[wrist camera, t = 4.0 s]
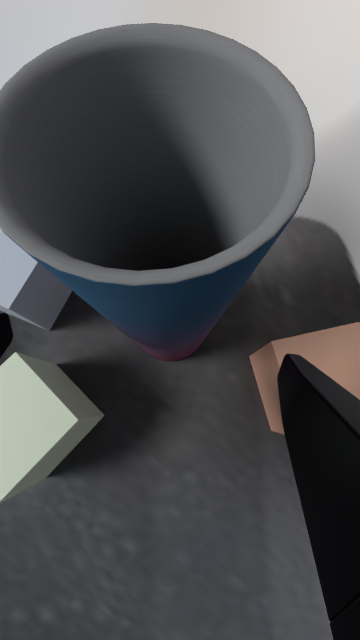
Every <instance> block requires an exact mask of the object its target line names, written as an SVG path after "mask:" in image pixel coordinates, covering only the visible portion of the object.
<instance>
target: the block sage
mask: <svg viewBox="0 0 360 640" xmlns="http://www.w3.org/2000/svg"><path fill="white" fill-rule="evenodd" d="M104 416H105V415H104V414H103V413H102V412H101V411H100V410H99V409H98V408H97V407H96V406H95V405H94V404H93V402H92V401H91V400H90V399H89V398H88V397H87V396H86V395H85V394H84V393H83V392H82V391H81V390H80V389H79V388H78V387H77V386H76V385H75V384H74V383H73V382H72V380H71V379H70V378H69V377H68V376H67V375H66V374H65V373H64V372H63V371H62V370H61V369H60V368H59V367H58V366H57V365H56V364H53V363H50V362H47V361H43V360H40V359H37V358H33V357H30V356H27V355H24V354H20V353H17V352H15V353H14V354H13V355H12V356H11V357H10V358H9V359H7V360H6V361H5V362H4V363H3V364H2V365H1V366H0V503H2V502H4V501H6V500H7V499H9V498H11V497H13V496H14V495H16V494H18V493H20V492H21V491H23V490H25V489H27V488H29V487H30V486H32V485H34V484H36V483H37V482H39V481H41V480H43V479H45V478H46V477H47V476H48V475H49V474H50V473H51V472H52V471H53V470H54V469H55V468H56V467H57V466H58V465H59V463H60V462H61V461H62V460H63V459H64V458H65V457H66V456H67V455H68V454H69V453H70V452H71V451H72V450H73V449H74V448H75V446H76V445H77V444H78V443H79V442H80V441H81V440H82V439H83V438H84V437H85V436H86V435H87V434H88V433H89V432H90V431H91V429H92V428H93V427H94V426H95V425H96V424H97V423H98V422H99V421H100V420H101V419H102V418H103V417H104Z"/></svg>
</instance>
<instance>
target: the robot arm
mask: <svg viewBox="0 0 360 640" xmlns="http://www.w3.org/2000/svg"><path fill="white" fill-rule="evenodd" d="M12 339H13V332H12V328H11V323H10V319H9V316H8V314H6V313H5V312H0V358H1V356H2V355H3V353H4V352H5V350H6V349H7V347H8V346H9V344H10V343H11V341H12ZM277 383H278V392H279V401H280V409H281V418H282V425H283V429H284V434H285V438H286V442H287V446H288V451H289V455H290V459H291V463H292V467H293V471H294V476H295V480H296V484H297V488H298V492H299V496H300V501H301V505H302V509H303V513H304V517H305V522H306V526H307V530H308V534H309V538H310V542H311V547H312V551H313V555H314V559H315V563H316V567H317V572H318V576H319V580H320V584H321V588H322V592H323V597H324V601H325V605H326V609H327V613H328V618H329V620H330V621H331V622H330V627H331V631H332V635H333V639H334V640H360V400H359V399H358V398H357V397H355V396H354V395H353V394H351V393H350V392H349V391H347V390H346V389H345V388H343V387H342V386H341V385H339V384H338V383H337V382H335V381H334V380H333V379H331V378H330V377H329V376H327V375H326V374H325V373H323V372H322V371H321V370H319V369H318V368H317V367H315V366H314V365H313V364H311V363H310V362H309V361H307V360H306V359H305V358H303V357H302V356H301V355H297V354H290V353H287V354H286V355H285V356H284V358H283V361H282V364H281V367H280V369H279V372H278V376H277Z"/></svg>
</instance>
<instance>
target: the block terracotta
mask: <svg viewBox="0 0 360 640" xmlns="http://www.w3.org/2000/svg"><path fill="white" fill-rule="evenodd" d="M287 353H290V354H297V355H301V356H302V357H303V358H305V359H306V360H307V361H309V362H310V363H311V364H313V365H314V366H315V367H317V368H318V369H319V370H321V371H322V372H323V373H325V374H326V375H327V376H329V377H330V378H331V379H333V380H334V381H335V382H337V383H338V384H339V385H341V386H342V387H343V388H345V389H346V390H347V391H349V392H350V393H351V394H353V395H354V396H355V397H357V398H358V399H359V400H360V323H359V322H356V323H352V324H347V325H343V326H338V327H334V328H329V329H325V330H320V331H315V332H311V333H306V334H302V335H297V336H293V337H288V338H284V339H279V340H275V341H271V342H269V343H268V344H266V345H265V346H264V347H262V348H261V349H259V350H258V351H256V352H255V353H253V354H252V355H250V356H249V357H250V361H251V364H252V368H253V371H254V374H255V378H256V381H257V384H258V388H259V391H260V395H261V398H262V401H263V405H264V408H265V412H266V415H267V418H268V422H269V425H270V429H271V431H274V432H277V433H280V434H284V429H283V425H282V418H281V409H280V401H279V392H278V383H277V376H278V372H279V369H280V367H281V364H282V361H283V358H284V356H285V355H286V354H287ZM284 435H285V434H284Z"/></svg>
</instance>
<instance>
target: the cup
mask: <svg viewBox="0 0 360 640" xmlns="http://www.w3.org/2000/svg"><path fill="white" fill-rule="evenodd" d="M314 148H315V146H314V131H313V128H312V125H311V121H310V118H309V114H308V111H307V108H306V106H305V105H304V103H303V101H302V100H301V98H300V96H299V94H298V92H297V91H296V89H295V87H294V86H293V85H292V84H291V82H290V81H288V79H287V78H286V77H285V76H284V75H283V74H282V72H281V71H280V70H279V69H278V68H277V67H276V66H274V65H273V64H272V63H270V62H269V61H268V60H267V59H265V58H264V57H263V56H261V55H260V54H258V53H257V52H256V51H254V50H252V49H250V48H248V47H246V46H244V45H243V44H241V43H239V42H237V41H235V40H233V39H230V38H227V37H224V36H222V35H219V34H216V33H213V32H210V31H207V30H202V29H197V28H192V27H188V26H183V25H172V24H158V23H148V24H130V25H121V26H116V27H111V28H105V29H99V30H96V31H93V32H90V33H86V34H83V35H80V36H77V37H74V38H71V39H69V40H67V41H65V42H63V43H61V44H59V45H57V46H54V47H52V48H50V49H48V50H47V51H45V52H43V53H42V54H41V55H39V56H37V57H36V58H35V59H33V60H32V61H30V62H29V63H27V64H26V65H24V66H23V67H22V68H21V69H20V70H19V71H18V72H17V73H16V74H15V75H14V76H13V77H12V78H11V79H10V80H9V81H8V82H6V83H5V85H4V86H3V87H2V89H1V90H0V228H1V229H2V231H3V232H4V234H6V235H7V236H8V237H9V238H10V239H11V240H12V241H14V242H15V243H16V244H17V245H18V246H19V247H20V248H22V249H23V250H24V251H25V252H26V253H27V254H29V255H30V256H31V257H32V258H33V259H35V260H36V261H37V262H38V263H39V264H41V265H42V266H43V267H44V268H45V269H47V270H48V271H49V272H50V273H52V274H53V275H54V276H55V277H56V278H58V279H59V280H60V281H61V282H62V283H64V284H65V285H66V286H67V287H69V288H70V289H71V290H72V291H73V292H75V293H76V294H77V295H78V296H79V297H81V298H82V299H83V300H84V301H85V302H87V303H88V304H89V305H90V306H92V307H93V308H94V309H95V310H96V311H98V312H99V313H100V314H101V315H102V316H104V317H105V318H106V319H107V320H109V321H110V322H111V323H112V324H113V325H115V326H116V327H117V328H118V329H119V330H121V331H122V332H123V333H124V334H126V335H127V336H128V337H129V338H130V339H132V340H133V341H134V342H135V343H136V344H138V345H139V346H140V347H141V348H143V349H144V350H145V351H146V352H147V353H149V354H150V355H151V356H153V357H155V358H157V359H160V360H163V361H178V360H181V359H184V358H186V357H188V356H190V355H191V354H193V353H194V352H195V351H196V350H197V349H198V348H199V346H200V345H201V344H202V342H203V341H204V340H205V338H206V337H207V335H208V334H209V333H210V331H211V330H212V328H213V327H214V326H215V324H216V323H217V321H218V320H219V319H220V317H221V316H222V314H223V313H224V312H225V310H226V309H227V307H228V306H229V305H230V303H231V302H232V301H233V299H234V298H235V296H236V295H237V294H238V292H239V291H240V289H241V288H242V287H243V285H244V284H245V282H246V281H247V280H248V278H249V277H250V275H251V274H252V273H253V271H254V270H255V268H256V267H257V266H258V264H259V263H260V262H261V260H262V259H263V257H264V256H265V255H266V253H267V252H268V250H269V249H270V248H271V246H272V245H273V243H274V242H275V241H276V239H277V238H278V236H279V235H280V234H281V232H282V231H283V230H284V228H285V227H286V225H287V224H288V223H289V221H290V220H291V218H292V217H293V216H294V214H295V213H296V211H297V209H298V207H299V205H300V203H301V201H302V199H303V197H304V195H305V193H306V191H307V189H308V187H309V184H310V179H311V175H312V170H313V166H314V161H315V149H314Z"/></svg>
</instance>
